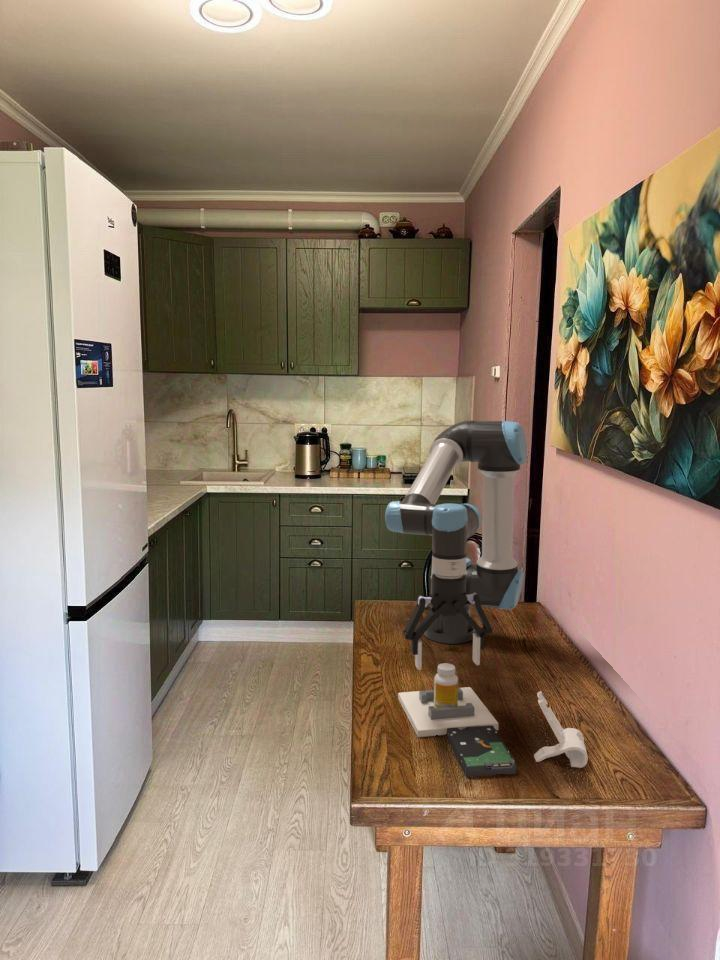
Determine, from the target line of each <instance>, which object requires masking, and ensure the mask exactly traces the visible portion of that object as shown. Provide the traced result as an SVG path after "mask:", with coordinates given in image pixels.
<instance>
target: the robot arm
mask: <svg viewBox="0 0 720 960" xmlns="http://www.w3.org/2000/svg"><path fill="white" fill-rule="evenodd" d="M527 448H528V447H527V437H526V434H525V430H524V428H523V425H522V424H520V423H519V422H516V421H508V420H464V421H460V422H457V423H455V424H453V425H450V426H449V427H447V428H446V429H445V430H443V431H442V432H441V433H439V434H438V435H437V436H436V437H435V439H434V440H433V442H432V443H431V445H430V447H429V451H428V452H429V455H428V457H427V459H426V461H425V462H424V464H423V466H422V467H421V469H420V471H419V473H418V474H417V476H416V477H415V479H414V481H413V482H412V485H411V486H410V488H409V490H408V491H407V493H406V495H405V497H404V498H403V499H402V501H401V500H396V501H394V500H393V501H391V502H389V503H388V504H387V506H386V509H385V513H384V521H385V526H386V528H387V530H388V531H390V532H394V533H400V534H406V535H407V534H408V535H418V536H419V535H420V536H421V535H422V536H430V537H431V540H432V541H431V542H432V543H431V550H432V551H431V552H432V553H431V555H432V556H431V572H430V573H431V574H430V576H429V577H430V596H427V597H426V596H423V595H421V594H419V595H418V596H416V597H417V598H416V605H415V607H414V609H413V611H412V614H411V615H410V617H409V619H408V621H407V623H406V625H405V628H404V630H403V631H402V635H403V637H404V638H405V640H408V641H410V652H411V653H412V655H413V656H414V666H415V667H416V669H417V670H418V671H422V658H423V657H422V655H423V653H422V652H423V651H422V650H423V649H422V647H423V645H422V644H423V643H422V640H421V637H422V636H423V635H424V636H425V637H426V638H427V639H428V640H431V641H433V642H436V643H442V644H450V645H451V644H452V645H453V644H454V645H455V644H463V643H467V642H471V641H472V657H471V658H472V661H473V663H474V664H475V665H476V666H480V665H481V664H480V663H481V650H484V648H485V638H486V637H487V634H492V633H493V630H494V629H493V628H492V626H491V624H490V622H489V619H488V618H487V616H486V614H485V611H484V609H483V608H482V607H484V608H491V609H497V610H513V609H515V608H516V607H517V604H518V602H519V600H520V596H521V593H522V588H523V583H524V571H523V570H521V569H518V567H519V565H518V561H517V560H516V559H515V558H514V557H513V543H514V542H513V541H514V504H515V502H514V501H515V500H514V499H515V475H517V473H518V472H520V470H521V466H523V465H524V464H526V462H527V458H528V457H527V453H528V451H527V450H528V449H527ZM464 462H471V463H477V470H478V471H479V472H480V473H481V474H482V475H483V477H482V515H481V512H480V510H479V509H478V508H477V507H476V506H475V505H473V504H471V503H460V504H459V503H442V504H436V503H437V502H438V500H439V497H440V496H441V494H442V492H443V490H444V489H445V486H446V484H447V482H448V481H449V478H450V476H452V473H453V471H454V469H455V468H458V467H459V466H460V465H461V463H464ZM481 524H482V533H481V534H482V535H481V537H482V538H481V541H482V542H481V556H480V557H479V558H478V559H477V560H476V565H475V564H472V561H471V559H470V558H469V557H467V546H468V545H467V544H468V543H467V542H468V539H469V538H471V537H473V536H474V535H475V534H476V533H477V532H478V529H480V527H481ZM429 604H430V609H429V610H428V612H427V614H426V615H425V616H424V617H423V618H422V615H423V613H424V612H425V608H427V607H428V605H429ZM470 605H471V606H472V607H473V609H474V611H475V612H476V615H477V617H478V619H479V621H480V624H481V625H482V627H481V626H479V624H478V622H476V621H475V620H474V619H473V618H472V614H471V612H470V611H471V610H470V608H471V607H470ZM421 618H422V620H421ZM420 620H421V621H420ZM419 621H420V622H419ZM418 623H419V624H418Z"/></svg>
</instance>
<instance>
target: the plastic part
mask: <svg viewBox="0 0 720 960" xmlns="http://www.w3.org/2000/svg"><path fill="white" fill-rule="evenodd" d="M536 694H537V698H538V699H537V702H538V705H539V707H540V709H541V710H542V713H543V715H544V717H545V719H546V720H547V722H548V725H549V726H550V728H551V730H552V732H553V733H554V736H555V737H556V739H557V741H558V742H559V743H557V744H555V745H552V746H543V747H541V748H540V749H538V750H537V751H536V752H535V753H534V754H533V758H534V759H535V760H534V761H535V762H536V763H539V762H543V760H545V759H548V758H551V757H556V756H559V755H561V754H565V756H566V757H567V759H569V763H570V767H571V768H579V769H581V768H584V767H586V765H587V763H588V761H589V756H588V752H587V748H586V745H585V738H584V735H583V733H582V731H581V730H579V729H578V728H573V727H566V728H563V726H562V725H561V723H560V722H559V720H558V718H557V716H556V715H555V713H554V712H553V710H552V708H551V706H549V707H548V706H547V705H548V701H547V699H546V698H545V697H544V696H543V693H542V691H538V692H537V693H536Z"/></svg>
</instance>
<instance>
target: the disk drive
mask: <svg viewBox="0 0 720 960" xmlns="http://www.w3.org/2000/svg"><path fill="white" fill-rule="evenodd" d="M446 739H447V741H449V742H448V744H449V745H450V747H451V749H452V751H453V754H454V756H455V757H456V760H457V762H458V764H459V766H460V769H461V771H462V772H464V773H463V775H464V774H465V775H464V777H465V776H466V778H471V777H470V776H474V777H485V776H484V775H489V776H497V775H496V774H505V775H515V774H517V768H518V767H517V765H516V761H515V758H514V756H513V755H512V754H511V752H510V750H509V748H508V747H507V745H506V744H505V742H504V741H503V739H502V737H501V736H500V734H499V733H498V730H496V729H495V728H494V726H474V727H466V728H464V729H462V730H460V729H458V728H457V727H456V728H447V735H446Z"/></svg>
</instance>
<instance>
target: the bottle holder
mask: <svg viewBox="0 0 720 960" xmlns="http://www.w3.org/2000/svg"><path fill="white" fill-rule="evenodd" d="M397 696H398V697H397V699H398V701H399V703H400V705H401V707H402V709H403V711H404V714H406V717H407V718H408V721H409V723H410V724H411V726H412V729H413V731H414V732H415V735H416V736H417V738H426V737H434V736H435V737H437V736H436V735H438V736H445V735H446V734H447V728H456V727H457V728H458V729H460V730H462V729H464V728H466V727H474V726H494V728H495V729H496V731H499V722H498V720H497V719H495V717H494V715H493V714H492V713H491V712H490V710H489V709H488V708H487V706H486V705H485V704H484V703H483V702H482V700H481V699H480V698H479V696H478V695H477V694H476V692H475V691H474V690H473V689H472V687H470V686H467V687H466V686H465V687H458V706H454V707H442V708H435V707H434V689H430V690H429V689H427V690H416V691H415V690H414V691H403V692H398V693H397ZM446 736H447V735H446Z"/></svg>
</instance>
